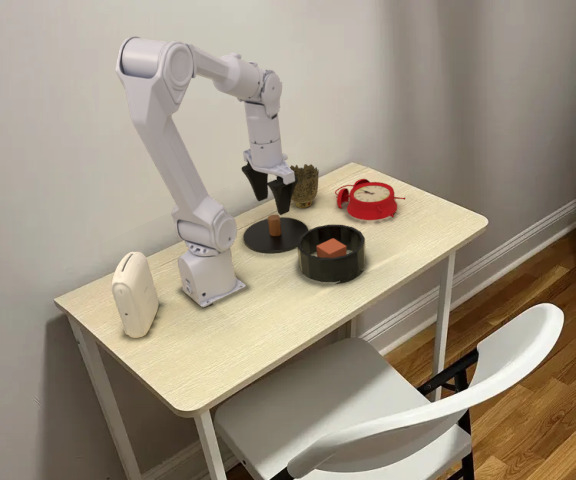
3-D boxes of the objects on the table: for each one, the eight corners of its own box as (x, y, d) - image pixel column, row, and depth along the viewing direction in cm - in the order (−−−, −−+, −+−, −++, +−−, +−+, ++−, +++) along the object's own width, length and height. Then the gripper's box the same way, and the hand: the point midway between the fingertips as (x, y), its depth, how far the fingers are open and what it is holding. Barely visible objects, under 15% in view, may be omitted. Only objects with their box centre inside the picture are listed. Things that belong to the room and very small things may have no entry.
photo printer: (147, 339, 117) (129, 278, 109) (123, 338, 118) (103, 278, 110) (162, 303, 125) (147, 244, 116) (140, 303, 125) (123, 245, 117)
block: (330, 272, 126) (329, 254, 123) (317, 264, 129) (316, 245, 126) (347, 264, 128) (346, 246, 125) (334, 256, 130) (333, 237, 128)
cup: (322, 197, 149) (319, 162, 144) (320, 214, 144) (317, 178, 138) (288, 198, 150) (284, 164, 145) (285, 215, 145) (281, 180, 139)
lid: (267, 263, 131) (264, 242, 128) (231, 238, 140) (228, 217, 137) (321, 238, 136) (320, 217, 133) (284, 215, 145) (282, 194, 142)
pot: (326, 292, 122) (324, 267, 119) (287, 265, 130) (284, 240, 127) (378, 267, 127) (378, 241, 123) (338, 242, 135) (336, 217, 131)
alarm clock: (377, 212, 134) (324, 177, 141) (372, 237, 139) (321, 202, 146) (412, 192, 139) (359, 159, 145) (406, 217, 144) (355, 184, 150)
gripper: (305, 142, 121) (311, 211, 130) (261, 120, 130) (269, 186, 139) (272, 154, 118) (281, 224, 127) (230, 132, 127) (240, 198, 137)
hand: (273, 205), depth 133 cm, fingers open, 7 cm apart
